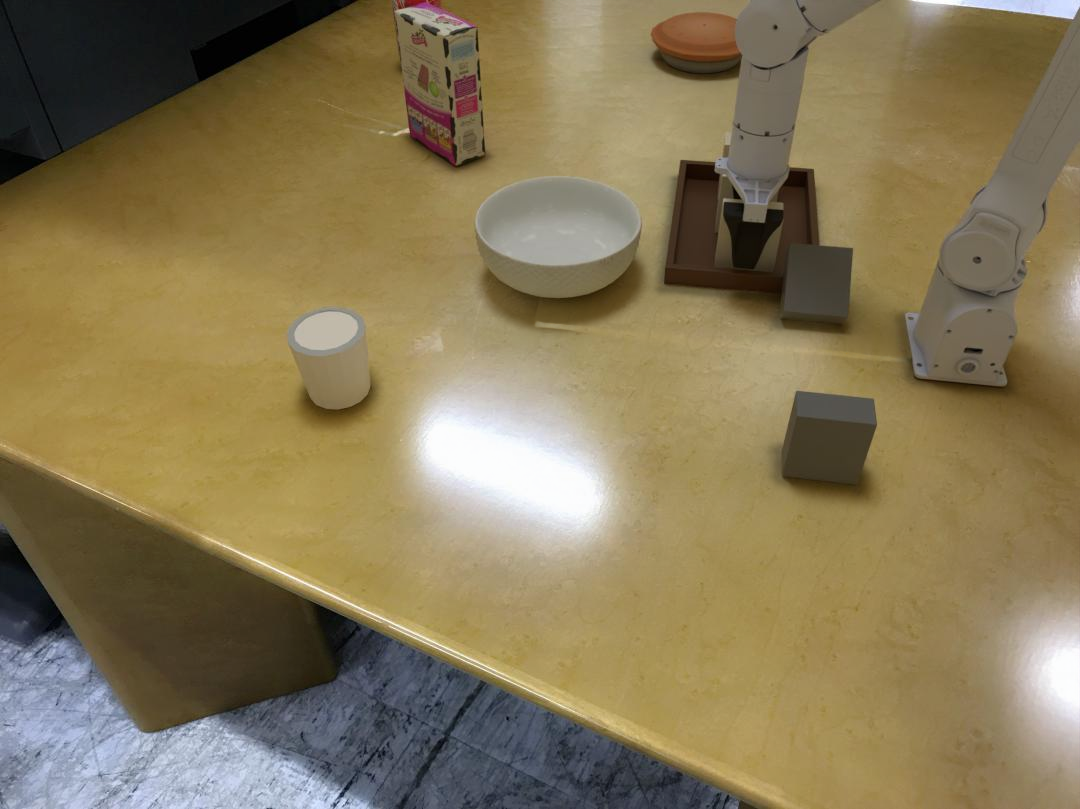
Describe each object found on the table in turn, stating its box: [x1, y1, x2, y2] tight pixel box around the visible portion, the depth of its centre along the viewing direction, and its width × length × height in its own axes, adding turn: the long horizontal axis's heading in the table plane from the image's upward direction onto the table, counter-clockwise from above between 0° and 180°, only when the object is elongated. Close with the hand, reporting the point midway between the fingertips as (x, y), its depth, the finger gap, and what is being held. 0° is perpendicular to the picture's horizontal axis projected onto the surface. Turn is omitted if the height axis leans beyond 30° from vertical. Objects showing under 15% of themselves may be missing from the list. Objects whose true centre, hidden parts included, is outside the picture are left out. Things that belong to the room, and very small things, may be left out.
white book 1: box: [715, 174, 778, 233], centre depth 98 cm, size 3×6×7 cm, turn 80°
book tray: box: [663, 159, 821, 295], centre depth 99 cm, size 23×16×3 cm
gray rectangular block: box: [779, 243, 854, 325], centre depth 88 cm, size 3×6×7 cm
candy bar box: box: [394, 2, 486, 167], centre depth 111 cm, size 11×5×16 cm, turn 39°
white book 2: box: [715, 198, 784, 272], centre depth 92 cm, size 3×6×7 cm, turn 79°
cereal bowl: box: [474, 175, 643, 299], centre depth 93 cm, size 17×17×7 cm
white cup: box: [286, 306, 372, 410], centre depth 81 cm, size 7×7×7 cm
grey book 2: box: [781, 390, 878, 486], centre depth 72 cm, size 3×6×7 cm, turn 80°
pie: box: [650, 11, 742, 74], centre depth 133 cm, size 16×16×5 cm
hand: (744, 245), depth 93 cm, fingers open, 7 cm apart
